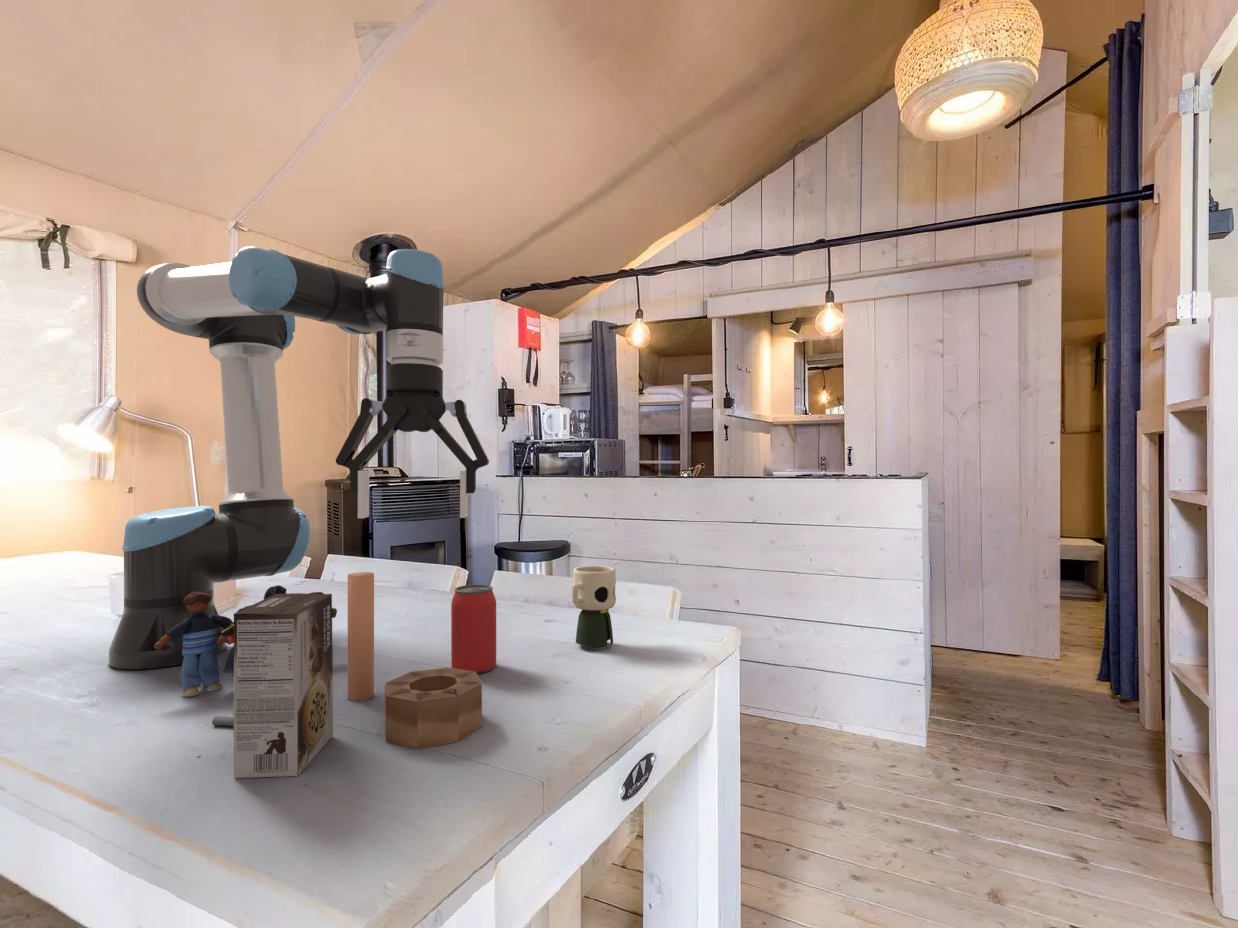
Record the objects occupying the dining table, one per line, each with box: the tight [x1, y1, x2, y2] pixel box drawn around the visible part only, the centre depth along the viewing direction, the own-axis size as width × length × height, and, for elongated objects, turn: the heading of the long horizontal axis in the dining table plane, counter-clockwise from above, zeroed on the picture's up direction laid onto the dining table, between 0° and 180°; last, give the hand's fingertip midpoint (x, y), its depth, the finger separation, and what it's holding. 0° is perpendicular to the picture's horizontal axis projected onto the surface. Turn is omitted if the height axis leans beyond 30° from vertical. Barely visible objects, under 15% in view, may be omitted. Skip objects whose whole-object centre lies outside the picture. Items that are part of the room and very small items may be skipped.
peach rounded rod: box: [347, 571, 375, 702], centre depth 81 cm, size 3×3×16 cm
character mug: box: [571, 565, 617, 649], centre depth 103 cm, size 11×7×13 cm, turn 143°
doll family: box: [154, 584, 338, 698], centre depth 88 cm, size 23×9×13 cm, turn 159°
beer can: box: [450, 584, 497, 675], centre depth 92 cm, size 7×7×12 cm
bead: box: [384, 667, 483, 749], centre depth 71 cm, size 10×10×5 cm
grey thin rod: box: [211, 715, 234, 727], centre depth 71 cm, size 10×1×1 cm, turn 83°
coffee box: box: [233, 592, 334, 779], centre depth 64 cm, size 9×6×16 cm
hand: (414, 517), depth 86 cm, fingers open, 13 cm apart
